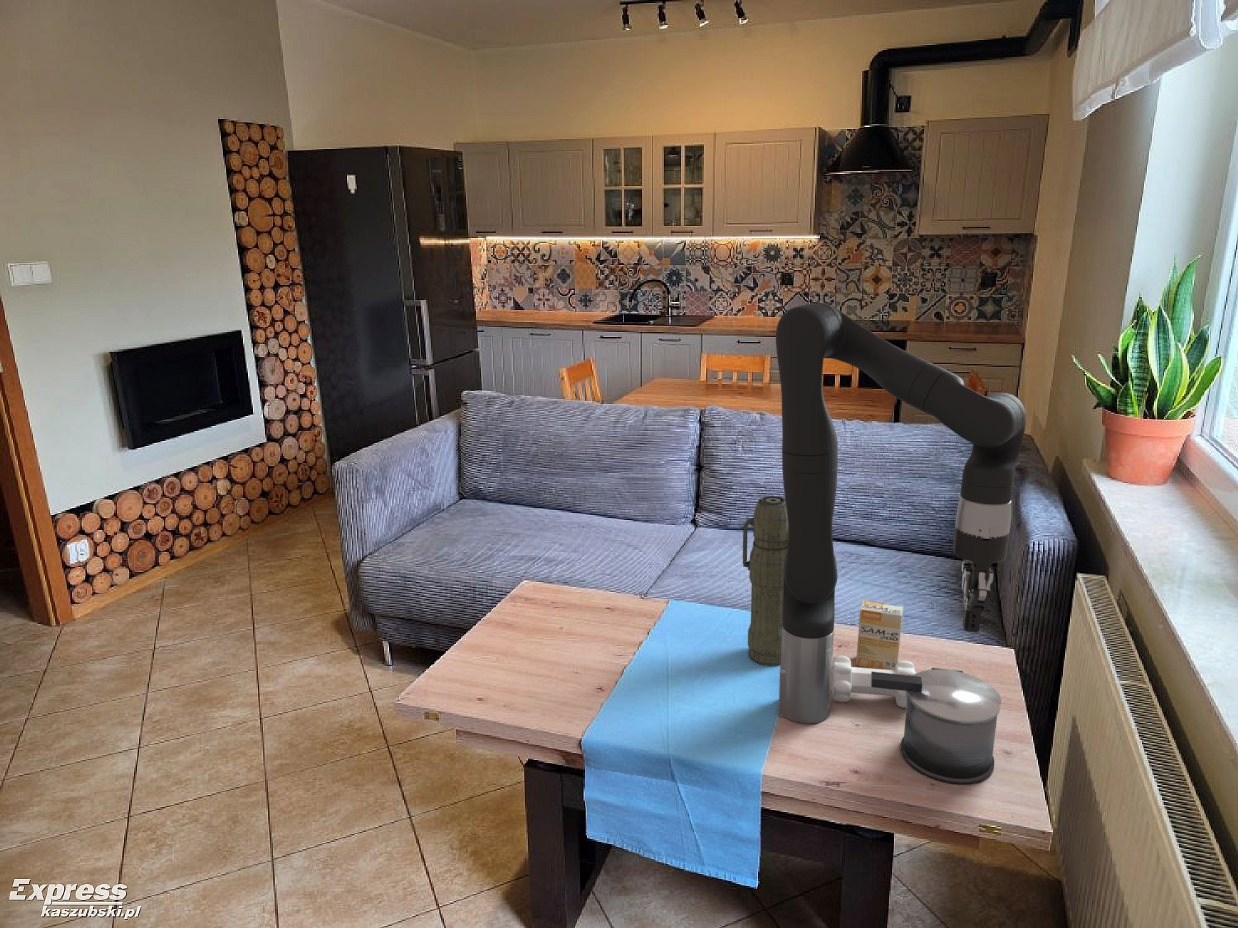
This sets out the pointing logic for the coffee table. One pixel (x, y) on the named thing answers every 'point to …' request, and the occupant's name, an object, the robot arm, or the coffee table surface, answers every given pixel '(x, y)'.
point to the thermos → (766, 578)
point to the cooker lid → (945, 694)
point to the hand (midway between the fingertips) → (970, 629)
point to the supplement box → (879, 635)
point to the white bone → (864, 680)
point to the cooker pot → (948, 748)
